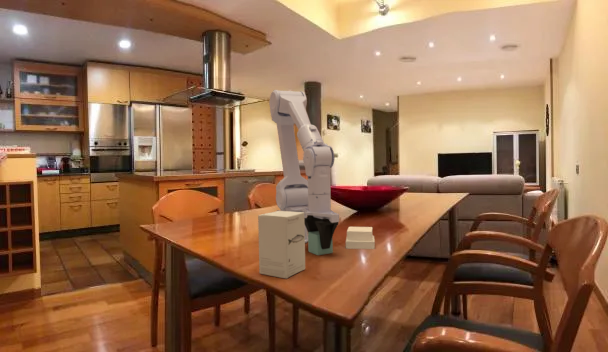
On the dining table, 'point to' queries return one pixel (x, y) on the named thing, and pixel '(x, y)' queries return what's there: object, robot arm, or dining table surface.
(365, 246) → the bottom slab
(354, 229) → the top slab
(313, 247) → the teal block
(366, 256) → the dining table surface
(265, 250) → the supplement box
